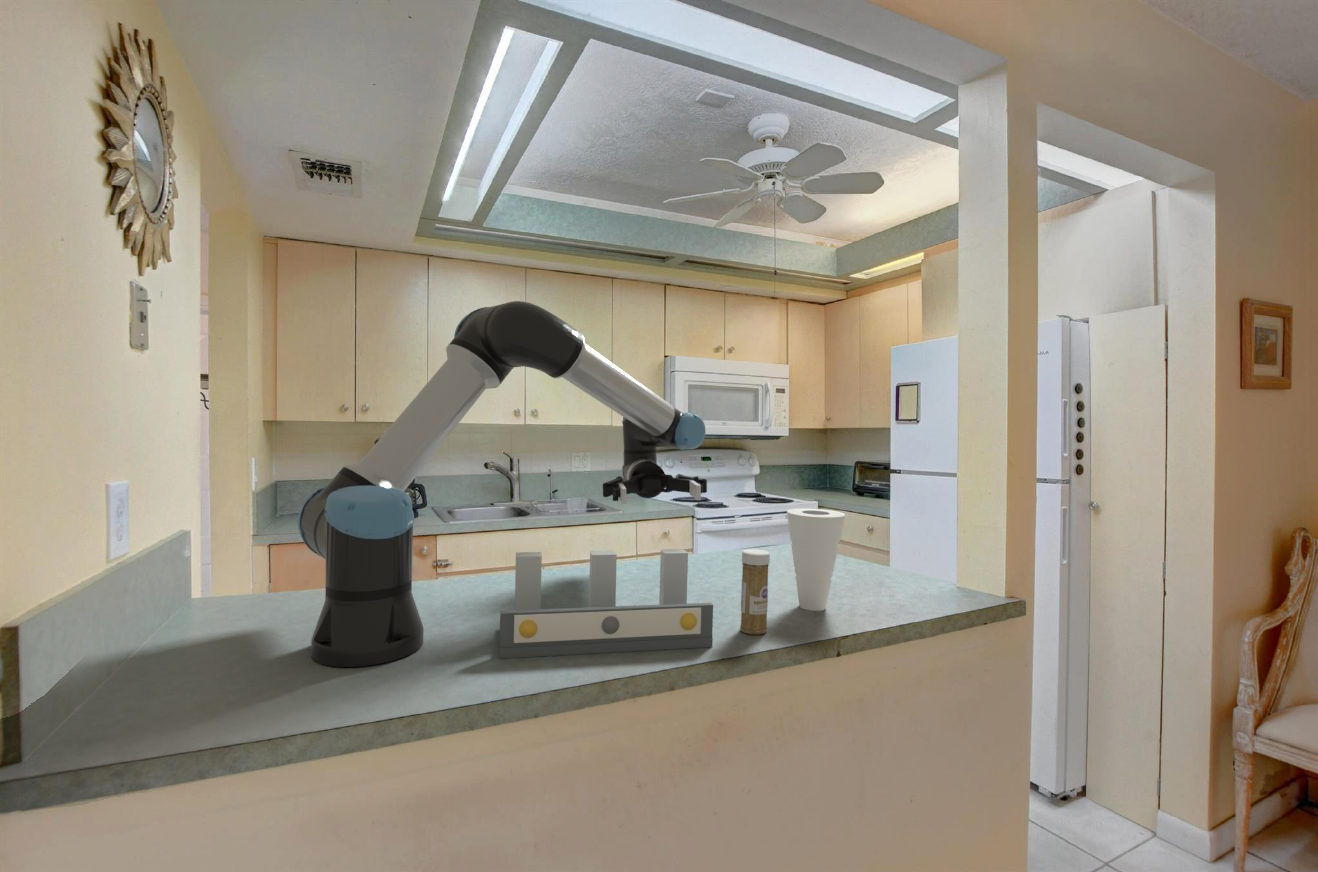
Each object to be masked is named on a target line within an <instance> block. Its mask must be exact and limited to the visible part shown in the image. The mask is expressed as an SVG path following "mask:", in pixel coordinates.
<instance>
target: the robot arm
mask: <svg viewBox="0 0 1318 872" xmlns="http://www.w3.org/2000/svg"><path fill="white" fill-rule="evenodd" d="M453 335H454V337H453V339H452V340H451V341H450V343H448V345H447V346H446V347H445V348H446V349H445V350H446V351H445V352H446V358H447V359H446V361H445V362H443V364H442V365H441V366H440V367H439V369H438V370H437V371H436V372H435V373H434V374H433V376H432V377H431V379H429V380H428V381H427V383H426V384H425V385H424V387H422V389H421V390H420V391H419V392H418V393H417V395H415V396H414V398H413V399H412V401H411V402H410V403H409V404H408V405H407V406H406V408H405V409H404V410H403V411H402V412H401V413H400V414H399V415H398V417H397V418H396V420H394V422H393V423H391V425H390V426H389V428H388V429H387V430H385V432H384V433H383V434H382V436H381V437H380V438H379V439H378V440H377V442H375V444H374V445H373V446H372V448H371V449H370V450H369V451H368V452H367V453H366V454H365V456H364V457H363V458H362V459H361V461H359V462H358V463H354V464H346V465H345V464H344V466H342V468H341V469H339V471H338V473H337V474H336V475H335V476H334V477H333V478H332V480H330V481H329V483H328V484H327V485H325V486H322V487H321V486H320V488H318V489H316V490H315V491H314V492H311V494H310V495H308V497H307V498H306V499H305V500H304V501H303V503H302V504H301V507H300V509H299V512H298V515H297V527H298V532H299V534H300V537H301V538H302V540H303V543H304V544H305V545H306V546H307V548H308V549H309V550H310V551H311V552H313V553H314V554H316V555H318V556H319V557H321V558H323V559H324V560H325V582H324V583H325V593H324V594H325V596H324V597H325V600H324V603H323V606H322V609H321V611H320V615H319V616H318V620H317V623H316V626H315V628H314V631H313V634H312V637H311V640H310V656H311V658H312V660H313V661H314V662H317V664H318V663H319V664H321V665H325V666H329V667H330V666H331V667H339V668H342V667H343V668H355V667H367V666H374V665H380V664H385V663H388V662H392V661H396V660H400V659H402V658H406V657H408V656H410V655H412V654H413V653H416V652H417V651H418V650H419V649H420V648H421V647H422V646H423V644H424V625H423V622H422V619H421V616H420V612H419V611H418V607H417V605H416V601H415V598H414V596H413V592H412V591H413V586H412V584H413V548H414V547H413V546H414V545H413V539H414V538H413V537H414V536H413V534H414V521H415V514H414V510H413V500H412V497H410V495H409V494H408V493H406V492H405V491H406V490H407V488H408V487H409V486H410V485H411V483H412V482H413V481H414V479H416V477H417V476H418V475H419V473H420V472H421V471H422V469H423V468H424V467H425V466H426V465H427V464H428V462H429V461H430V459H431V458H432V457H433V456H434V455H435V454H436V452H437V451H438V449H439V448H440V447H441V446H442V445H443V443H444V442H445V441H446V440H447V438H448V437H449V436H450V435H451V434H452V432H453V431H454V429H455V428H456V427H457V426H458V425H459V423H460V422H461V421H462V420H463V418H464V417H465V416H466V415H467V414H468V412H469V411H470V409H471V408H472V407H473V406H474V404H476V402H477V401H478V400H479V399H480V397H481V396H482V394H483V393H484V392H485V391H486V390H489V389H496V388H498V387H499V386H500V385H501V384H502V383H503V382H504V380H505V379H506V378H507V377H508V376H509V374H510V373H511V372H512V370H513V369H514V368H521V367H526V368H531V369H534V370H538V371H540V372H543V373H545V374H546V375H547V376H549V377H551V378H553V379H559V378H563V379H564V380H565V381H567V382H569V383H570V384H572V385H573V386H575V387H577V388H578V389H579V390H581V391H583V392H584V393H586V394H587V395H589V396H591V397H592V398H594V399H596V401H598V402H600V403H602V404H603V405H604V406H606V407H607V408H609V409H611V410H612V411H614V412H615V413H617V414H618V415H620V416H622V421H621V423H622V433H623V434H622V436H623V439H622V440H623V465H622V469H621V470H622V476H617V477H616V478H614V479H612V480H609V481H606V482H604V483H602V497H604V498H608V497H611V496H612V501H613V502H618V501H620V502H621V504H622V505H626V504H627V495H629V494H635V495H637V496H638V497H640V498H643V499H652V498H656V497H657V496H659V495H660V494H661V493H667V494H668V493H672V492H680V493H686V494H688V493H689V495H690V496H691V497H692V498H694V499H695V501H701V500H702V494H705V493H707V492H708V480H707V478H700V477H699V476H698V475H697V476H688V475H684V474H680V473H678V474H676V475H675V477H673V475H671V474H666V473H665V471H664V470H663V468H662V467H661V466H660V465H658V464H657V460H658V459H657V456H658V455H657V448H663V449H674V450H675V449H676V450H681V451H685V450H695V449H697V448H699V447H700V446H701V445H702V443H703V441H704V439H705V436H706V431H707V430H706V425H705V421H704V420H703V418H701V416H700V415H698V414H695V413H690V412H685V413H684V412H682V411H680V410H679V409H677V408H676V407H675V406H673V405H672V404H670V403H669V402H668V401H667V400H665V399H663V398H662V397H661V396H660V395H658V394H657V393H655V392H653V391H652V390H651V389H650V388H649V387H647V386H645V385H644V384H643V383H641V382H640V381H639V380H637V379H635V378H634V377H633V376H631V375H630V374H629V373H627V372H626V371H624V370H623V369H622V368H620V367H619V366H618V365H616V364H615V363H613V362H612V361H611V360H609V359H608V358H606V357H605V356H603V355H602V354H601V353H599V352H598V351H597V350H595V349H594V348H593V347H591V346H589V345H588V344H587V343H586V342H585V337H584V335H583V334H582V333H581V332H580V331H579V330H577V329H575V328H574V327H573V326H572V325H570V324H569V323H567V322H566V321H564V320H563V319H562V318H560V317H558V316H557V315H555V314H553V313H552V312H550V311H548V310H546V309H545V308H543V307H541V306H539V305H536V304H534V303H531V302H528V301H523V300H514V301H508V302H506V303H501V304H498V305H493V306H492V305H491V306H484V307H480V308H477V309H475V310H473V311H471V312H469V313H468V314H466V315H465V316H464V317H463V318H462V319H461V320H460V321H459V323H458V324H457V326H456V328H455V330H454V334H453Z"/></svg>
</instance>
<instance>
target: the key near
mask: <svg viewBox="0 0 1318 872" xmlns="http://www.w3.org/2000/svg"><path fill="white" fill-rule="evenodd" d="M542 565H543V563H542V552H541V551H537V552H536V551H534V552H533V551H529V552H527V551H526V552H525V551H524V552H523V551H522V552H521V551H520V552H519V551H518V552H515V573H514V574H515V577H514V578H515V579H514V580H515V582H514V583H515V584H514V585H515V586H514V587H515V588H514V610H538V609H542V607H541V604H542V598H541V597H542Z"/></svg>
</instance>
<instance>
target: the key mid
mask: <svg viewBox="0 0 1318 872" xmlns="http://www.w3.org/2000/svg"><path fill="white" fill-rule="evenodd" d="M617 557H618V556H617V553H616V551H615V550H590V551H589V586H588V587H589V589H588V608H589V607H614V606H616V600H617V599H616V597H617V596H616V594H617V591H616V590H617Z"/></svg>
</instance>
